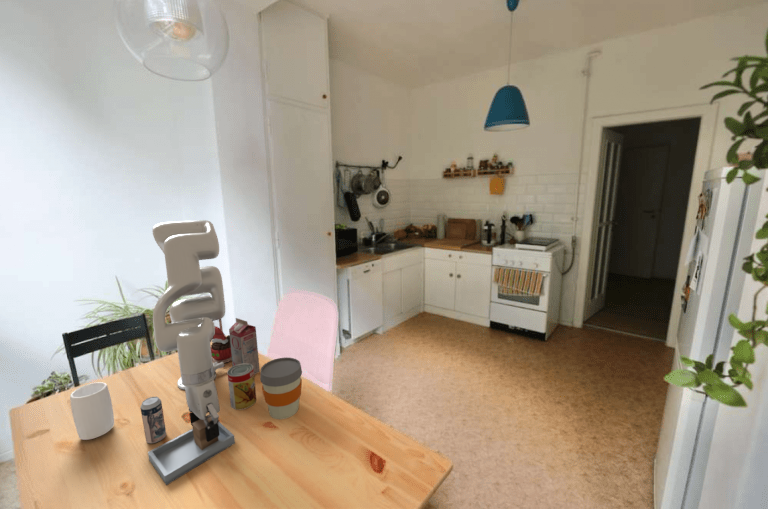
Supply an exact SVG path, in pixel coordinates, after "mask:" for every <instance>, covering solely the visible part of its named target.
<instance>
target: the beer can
mask: <svg viewBox="0 0 768 509" xmlns="http://www.w3.org/2000/svg"><path fill="white" fill-rule="evenodd" d="M162 403H163V402H162V400H161V399H160V397H158V396H149V397H148V398H145V399H144V400H142V402H141V405H140V414H141V418H142V424H143V426H142V427H143V432H144V437H145V441H146V443H147V444H155V443H158V442H160V441H162V440H163V439H164V438H165V437H166V436H167V431H166V430H167V429H166V424H165V423H166V422H165V417H164V410H163V404H162Z"/></svg>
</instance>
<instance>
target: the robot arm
mask: <svg viewBox="0 0 768 509" xmlns="http://www.w3.org/2000/svg"><path fill="white" fill-rule="evenodd" d="M152 236H153V240H154V241H155V243H156V244H157V246H158V247H159V249H160V250H161V251H162V253H163V255H164V261H165V268H166V275H167V276H166V278H167V288H166V290H165V291H164V292H163V293H162V294H161V296H160V297H159V299H158V300H157V301H156V303H155V306H154V309H153V312H152V324H153V335H154V341H155V346H156V348H157V349H158V350H159V351H160V352H163V353H164V352H165V353H168V352H173V351H177V355H178V357H177V358H178V364H179V370H180V371H179V372H180V378H178V380H177V387H178V388H179V389H180V390H184V391H185V399H186V404H187V407H188V412H189V420H190V425H191V426H192V423H194V422H195V421H197V420H199V419H201V420H204V423H205V425H206V428H205V434H206V441H207V442H209V441H211V440H213V439H214V438H216V437H218V436H219V426H218V424H219V422H220V419H219V418H220V414H219V413H220V411H221V406H220V402H219V401H220V400H219V395H218V391H217V386H216V382H215V380H216V378H217V373H216V371H217V370H218V369H222V368H224V367H225V362H224V363H223V362H221V363H217V362H215V363H214V362H213V361H212V353H211V345H212V344H211V343H212V338H213V336H214V335H215V326H216V325H215V322H214V321H219V319H221V320H222V319H223V318H224V317H225V316H226V301H225V294H224V292H225V291H224V284H223V283H224V282H223V277H222V274H221V271H220V269H219V268H218V267H217V266H214V265H209V266H208V265H206V266H200V261H204V260H213V259H216V258H217V257H218V256H219V254H220V242H219V239H218V235H217V232H216V229H215V226H214V224H213V223H212V222H211V221H209V220H206V219H205V220H204V219H202V220H201V219H200V220H176V221H174V220H173V221H165V222H164V221H163V222H160V223H157V224H155V225H154V226H153V227H152ZM202 294H209V295H204V296H195V297H190V298H189V296H194V295H202ZM186 296H188V298H182V297H186ZM181 298H182V299H181ZM178 299H179V300H178ZM168 308H169V311H168V312H169V317H170V320H171V322H167V323H166V313H167V310H168ZM207 414H208V415H207ZM209 417H211V418H212V419H211V420H212V421H210V422H208V420H207V418H209Z"/></svg>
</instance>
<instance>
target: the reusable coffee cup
mask: <svg viewBox="0 0 768 509" xmlns="http://www.w3.org/2000/svg"><path fill="white" fill-rule="evenodd" d="M259 373H260V376H259V378H260V382H261V385H262V386H261V391H262V394H263V398H264V399H263V400H264V402H265V403H266V405H267V408H268V412H269V416H270V417H271V418H272V419H275V420H284V419H288V418H291V417H293V416H294V415H295V414H296V413H297V412H298V411H299V406H300V404H299V403H300V397H301V395H302V383H303V381H302V375H303V374H302V373H303V370H302V363H301V361H300V360H298V359H297V358H293V357H278V358H275V359H272V360H269V361H267V362H266V363H264V364H263V365H262V366H261V368H260V372H259Z"/></svg>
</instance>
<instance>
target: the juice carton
mask: <svg viewBox="0 0 768 509" xmlns="http://www.w3.org/2000/svg"><path fill="white" fill-rule="evenodd" d="M256 328H257V327H256V326H254V325H251V324H249V323H248V321H247V320H244V319H241V318H237V317H236V318H235V322H234V324H233V325H232V326H230V327H229V329H228V332H229V333H228V335H230V343H231V353H232V360H231V361H232V367H233V366H235V365H237V364H242V363H249V364H252V365H253V369H254V376H255V375H256V374H258V373H260V372H261V368H260V360H259V359H260V357H259V347H258V340H257V338H258V336H257V329H256Z"/></svg>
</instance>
